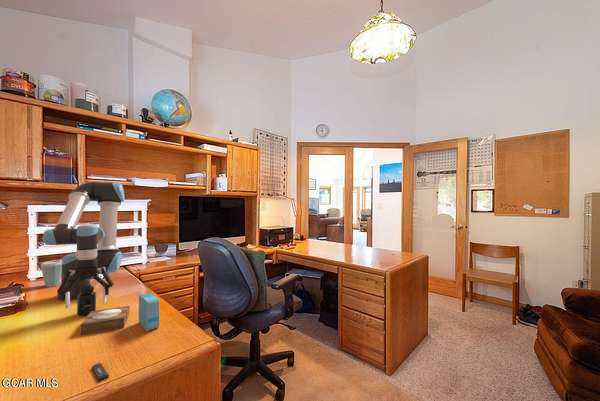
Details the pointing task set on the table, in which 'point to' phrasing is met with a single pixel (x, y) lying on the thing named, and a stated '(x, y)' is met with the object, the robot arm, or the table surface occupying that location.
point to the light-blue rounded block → (149, 311)
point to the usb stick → (99, 371)
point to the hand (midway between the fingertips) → (86, 304)
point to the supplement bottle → (86, 301)
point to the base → (105, 320)
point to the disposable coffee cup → (52, 272)
